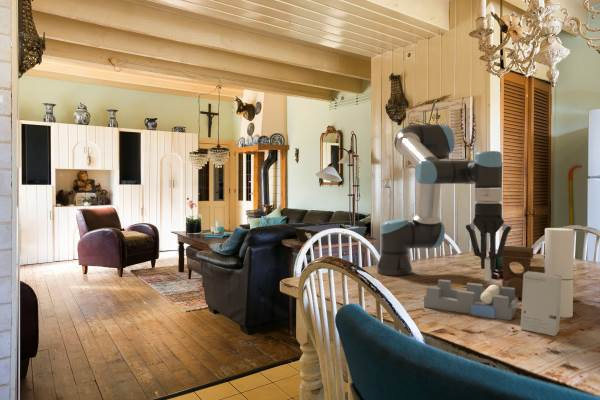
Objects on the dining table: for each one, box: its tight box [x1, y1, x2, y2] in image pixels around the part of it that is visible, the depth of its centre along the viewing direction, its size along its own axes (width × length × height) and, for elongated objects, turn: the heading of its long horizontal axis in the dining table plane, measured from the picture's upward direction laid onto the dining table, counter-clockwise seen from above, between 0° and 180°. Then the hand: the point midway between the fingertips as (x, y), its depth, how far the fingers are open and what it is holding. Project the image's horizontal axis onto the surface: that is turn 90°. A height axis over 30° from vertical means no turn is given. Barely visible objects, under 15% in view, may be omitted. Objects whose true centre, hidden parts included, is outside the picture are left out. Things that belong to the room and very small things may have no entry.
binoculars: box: [486, 250, 504, 280], centre depth 172 cm, size 9×11×10 cm
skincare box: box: [520, 271, 562, 337], centre depth 108 cm, size 8×6×15 cm
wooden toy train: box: [501, 245, 545, 299], centre depth 141 cm, size 20×11×17 cm, turn 58°
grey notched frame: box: [423, 279, 519, 321], centre depth 129 cm, size 25×15×6 cm, turn 56°
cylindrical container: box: [544, 227, 575, 318], centre depth 122 cm, size 7×7×25 cm
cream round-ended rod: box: [481, 284, 501, 304], centre depth 126 cm, size 4×14×4 cm, turn 146°
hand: (488, 279), depth 127 cm, fingers closed
